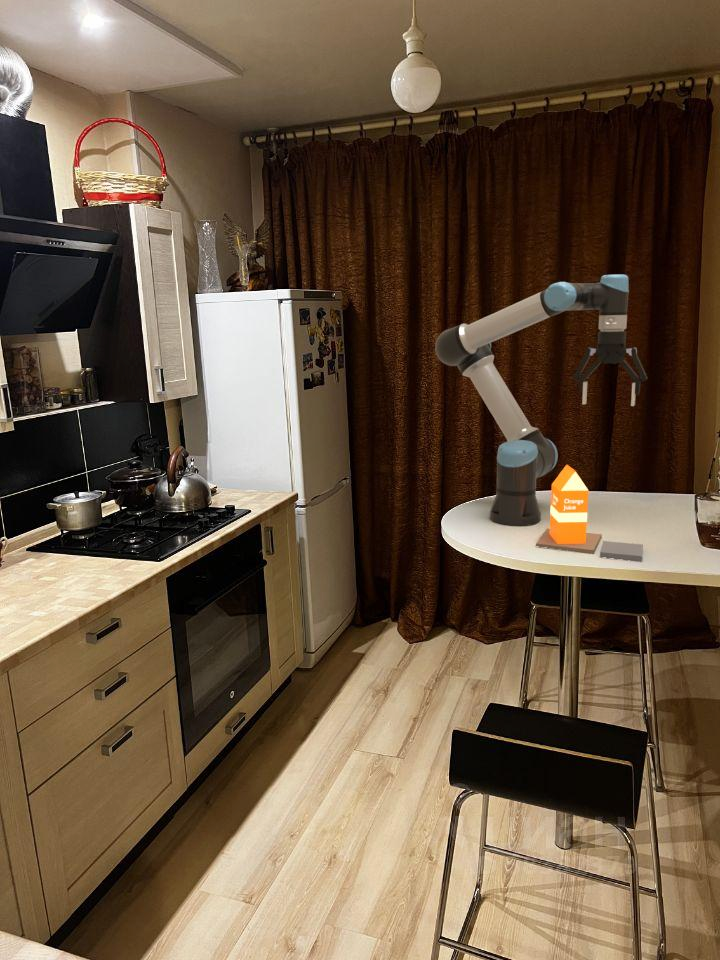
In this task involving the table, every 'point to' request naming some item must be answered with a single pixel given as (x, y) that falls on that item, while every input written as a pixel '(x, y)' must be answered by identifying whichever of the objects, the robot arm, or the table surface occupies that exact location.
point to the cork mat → (587, 547)
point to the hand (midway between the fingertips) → (608, 404)
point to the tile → (622, 551)
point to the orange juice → (568, 508)
